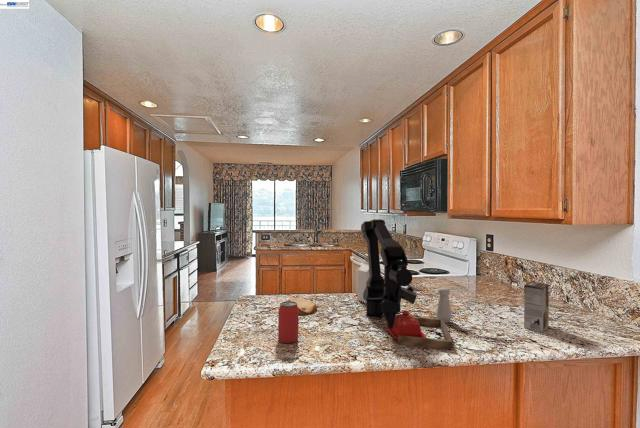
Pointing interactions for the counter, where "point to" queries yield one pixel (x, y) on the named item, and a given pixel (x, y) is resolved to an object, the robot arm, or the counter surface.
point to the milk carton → (362, 280)
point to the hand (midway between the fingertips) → (391, 324)
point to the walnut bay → (429, 342)
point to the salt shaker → (444, 305)
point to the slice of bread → (305, 306)
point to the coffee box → (536, 306)
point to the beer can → (288, 322)
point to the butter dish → (406, 326)
